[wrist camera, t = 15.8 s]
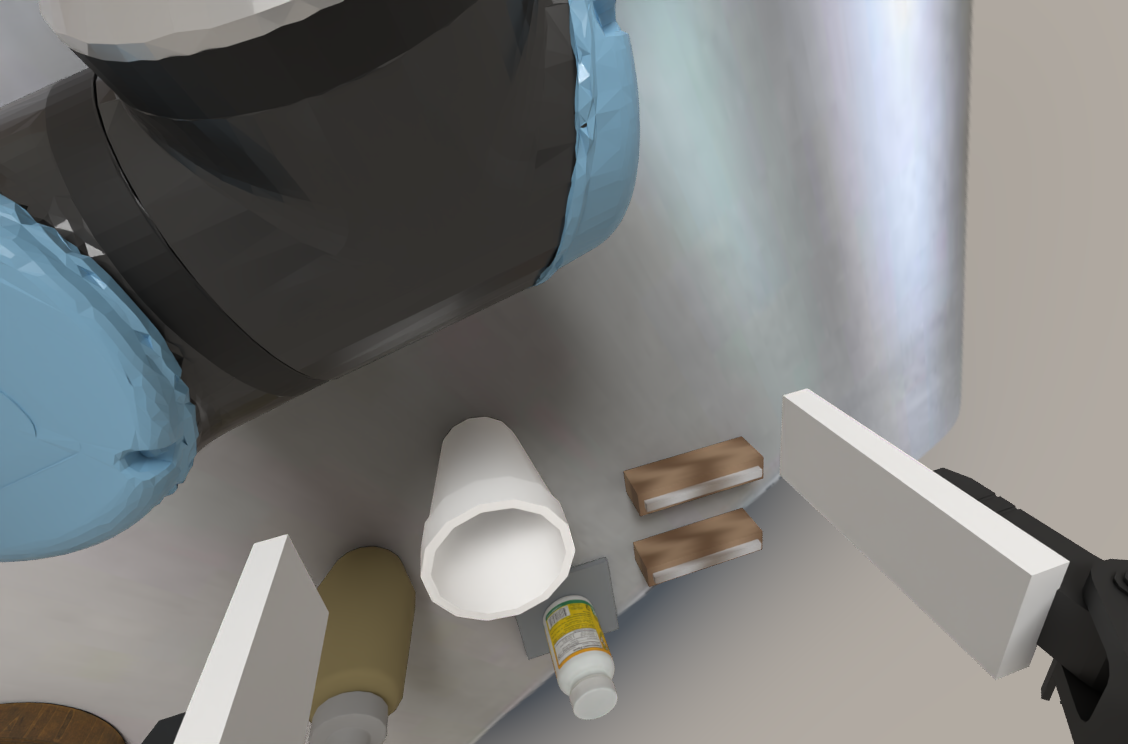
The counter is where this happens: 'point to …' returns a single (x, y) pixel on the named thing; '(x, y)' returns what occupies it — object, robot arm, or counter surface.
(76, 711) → the wooden container
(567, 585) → the mat
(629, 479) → the wooden blocks
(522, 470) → the foam cup
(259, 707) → the robot arm
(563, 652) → the supplement bottle
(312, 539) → the counter surface
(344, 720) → the squeeze bottle
